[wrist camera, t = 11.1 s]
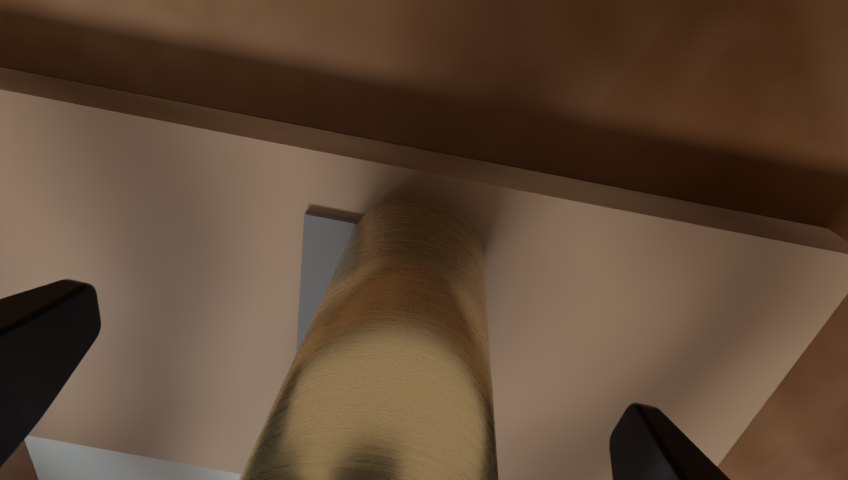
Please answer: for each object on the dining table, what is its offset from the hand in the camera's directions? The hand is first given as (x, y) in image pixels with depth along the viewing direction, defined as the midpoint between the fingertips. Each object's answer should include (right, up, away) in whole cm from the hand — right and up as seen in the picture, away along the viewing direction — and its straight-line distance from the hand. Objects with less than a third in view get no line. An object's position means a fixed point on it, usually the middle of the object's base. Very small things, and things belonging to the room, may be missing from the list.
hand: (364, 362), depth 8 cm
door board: (-2, -6, +10) cm, 11 cm away
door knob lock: (-1, -3, +6) cm, 6 cm away
